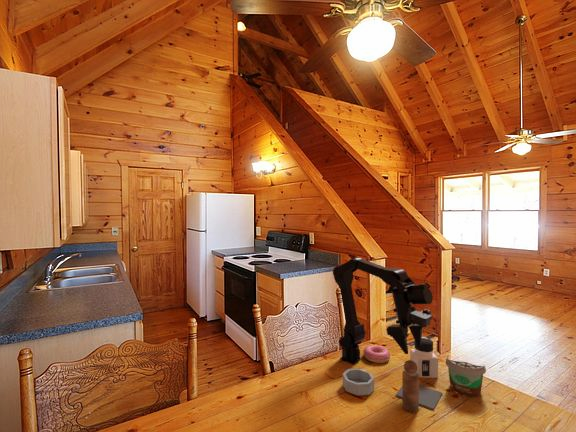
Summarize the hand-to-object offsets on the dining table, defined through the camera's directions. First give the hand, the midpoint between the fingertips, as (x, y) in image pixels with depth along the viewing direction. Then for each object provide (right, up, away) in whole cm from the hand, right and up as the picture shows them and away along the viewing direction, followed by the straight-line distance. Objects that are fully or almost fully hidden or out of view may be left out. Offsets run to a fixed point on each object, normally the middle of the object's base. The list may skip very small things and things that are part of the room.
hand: (413, 349), depth 110 cm
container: (+8, -13, +10) cm, 19 cm away
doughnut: (-7, -13, +22) cm, 27 cm away
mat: (0, -14, -4) cm, 14 cm away
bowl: (-19, -14, 0) cm, 24 cm away
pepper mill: (-5, -14, -11) cm, 18 cm away
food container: (+17, -14, -3) cm, 22 cm away
